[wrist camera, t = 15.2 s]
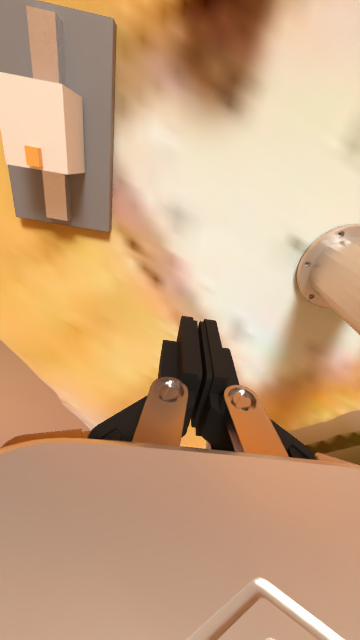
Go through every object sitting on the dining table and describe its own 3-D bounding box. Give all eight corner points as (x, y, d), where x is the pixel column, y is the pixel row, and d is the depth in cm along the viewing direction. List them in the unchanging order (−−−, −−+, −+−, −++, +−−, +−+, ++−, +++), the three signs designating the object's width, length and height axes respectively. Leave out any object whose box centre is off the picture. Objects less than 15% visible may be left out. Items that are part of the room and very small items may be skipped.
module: (82, 97, 27) (58, 81, 22) (84, 172, 31) (64, 174, 26) (23, 86, 27) (-16, 67, 22) (33, 163, 30) (1, 164, 25)
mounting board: (116, 25, 26) (113, 18, 25) (111, 229, 36) (108, 232, 35) (-10, -4, 25) (-20, -14, 24) (21, 214, 35) (16, 216, 34)
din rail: (62, 21, 25) (55, 12, 23) (72, 218, 34) (67, 220, 32) (35, 15, 24) (26, 5, 23) (52, 215, 34) (46, 217, 32)
